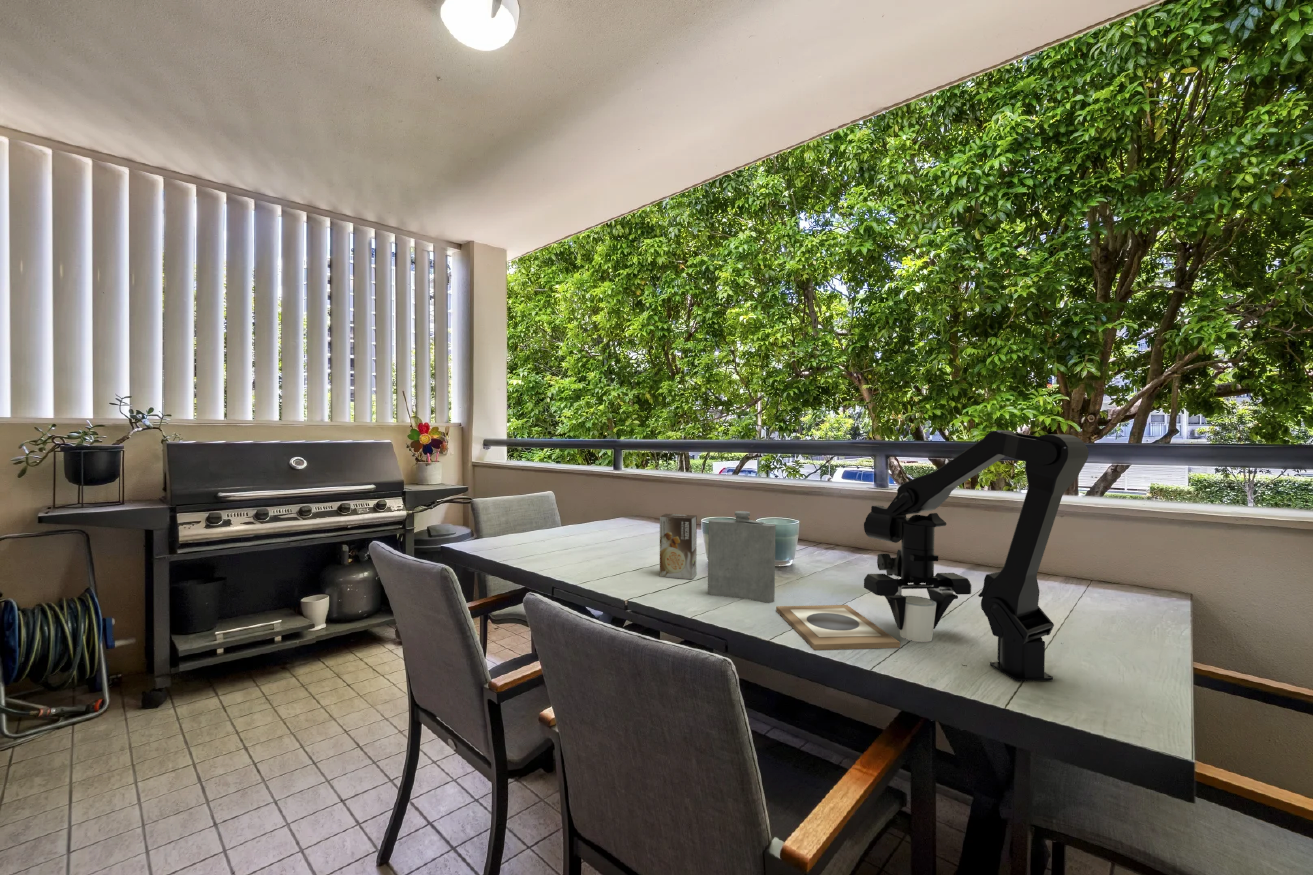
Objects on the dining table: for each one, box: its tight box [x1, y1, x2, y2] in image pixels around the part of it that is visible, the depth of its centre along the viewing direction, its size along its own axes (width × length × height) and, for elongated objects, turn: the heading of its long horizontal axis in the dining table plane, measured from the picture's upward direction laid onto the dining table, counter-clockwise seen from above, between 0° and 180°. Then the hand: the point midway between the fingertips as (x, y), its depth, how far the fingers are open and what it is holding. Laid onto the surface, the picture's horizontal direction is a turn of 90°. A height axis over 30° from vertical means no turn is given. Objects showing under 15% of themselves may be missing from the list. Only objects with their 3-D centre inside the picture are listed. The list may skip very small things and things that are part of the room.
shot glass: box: [899, 595, 936, 643], centre depth 109 cm, size 7×7×7 cm
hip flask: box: [707, 510, 777, 604], centre depth 134 cm, size 16×4×20 cm, turn 66°
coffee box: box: [659, 513, 698, 580], centre depth 153 cm, size 9×6×16 cm
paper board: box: [775, 604, 901, 651], centre depth 114 cm, size 22×16×1 cm
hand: (916, 628), depth 109 cm, fingers closed on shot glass, 6 cm apart
